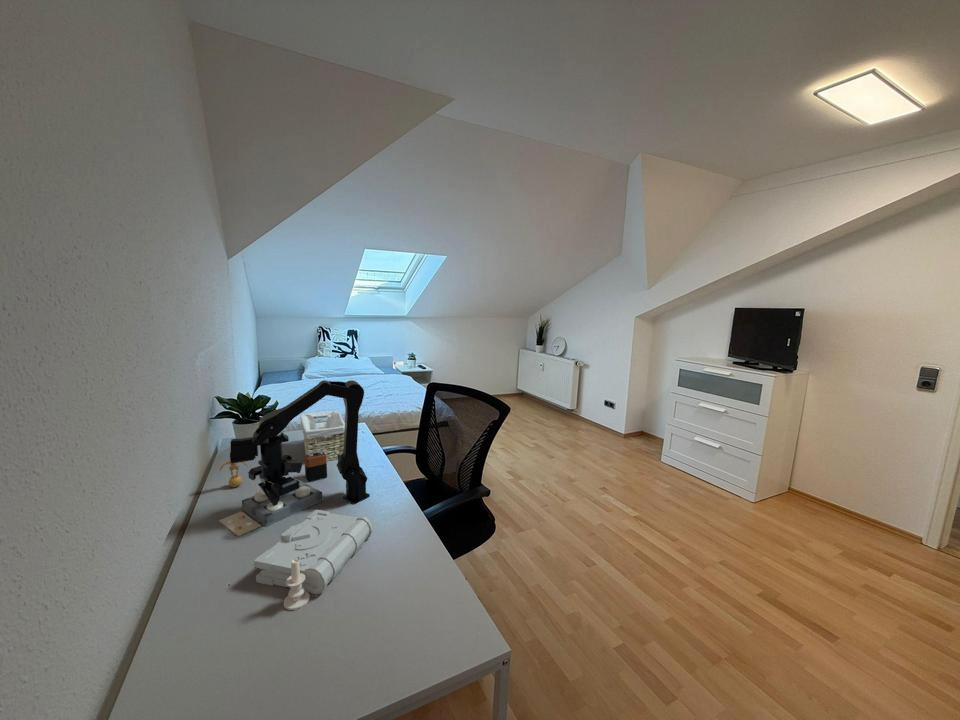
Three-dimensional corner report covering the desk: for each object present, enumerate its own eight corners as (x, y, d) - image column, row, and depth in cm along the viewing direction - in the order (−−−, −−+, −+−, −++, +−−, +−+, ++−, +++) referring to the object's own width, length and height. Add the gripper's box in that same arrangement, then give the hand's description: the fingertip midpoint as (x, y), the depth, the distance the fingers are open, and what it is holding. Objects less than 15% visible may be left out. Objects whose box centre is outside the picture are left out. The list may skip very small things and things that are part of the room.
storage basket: (348, 459, 158) (347, 425, 156) (305, 466, 150) (303, 430, 148) (339, 440, 179) (338, 409, 176) (301, 445, 171) (299, 413, 169)
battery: (327, 477, 142) (326, 452, 140) (308, 482, 138) (306, 456, 136) (324, 473, 145) (323, 448, 144) (305, 477, 141) (303, 452, 139)
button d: (273, 498, 121) (272, 492, 121) (258, 504, 118) (258, 498, 117) (266, 494, 124) (265, 488, 123) (251, 500, 120) (251, 494, 120)
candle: (302, 588, 88) (300, 547, 87) (314, 600, 85) (312, 558, 83) (279, 601, 84) (276, 559, 83) (290, 614, 81) (287, 570, 79)
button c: (286, 510, 117) (285, 504, 117) (271, 516, 114) (271, 510, 113) (278, 505, 120) (278, 499, 120) (264, 511, 116) (263, 505, 116)
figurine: (250, 481, 137) (247, 449, 135) (249, 489, 132) (246, 456, 130) (222, 486, 133) (219, 453, 131) (220, 494, 128) (217, 460, 126)
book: (382, 528, 113) (381, 504, 111) (323, 600, 86) (321, 569, 84) (324, 519, 117) (323, 495, 116) (251, 584, 90) (248, 555, 89)
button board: (322, 500, 126) (322, 492, 125) (266, 526, 111) (266, 516, 111) (297, 486, 134) (296, 479, 134) (242, 509, 120) (241, 500, 119)
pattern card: (260, 526, 111) (260, 524, 111) (238, 536, 106) (238, 535, 106) (241, 512, 118) (241, 511, 118) (219, 521, 113) (219, 520, 113)
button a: (313, 494, 125) (312, 488, 124) (300, 500, 121) (299, 494, 121) (305, 490, 127) (305, 484, 127) (292, 495, 123) (292, 490, 123)
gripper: (315, 455, 115) (317, 503, 118) (281, 441, 126) (284, 485, 128) (278, 468, 106) (281, 520, 109) (245, 452, 117) (249, 499, 119)
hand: (275, 505), depth 117 cm, fingers closed, pressing on button c
